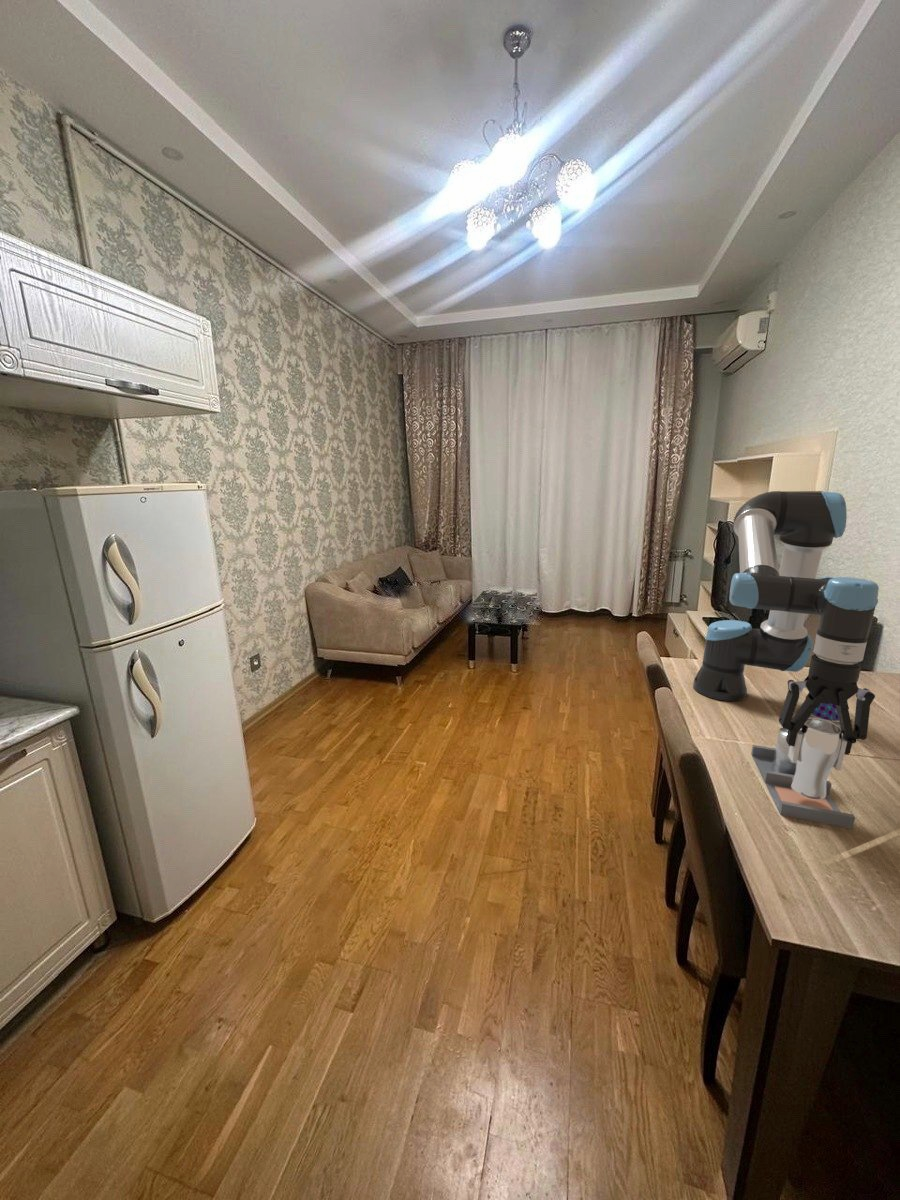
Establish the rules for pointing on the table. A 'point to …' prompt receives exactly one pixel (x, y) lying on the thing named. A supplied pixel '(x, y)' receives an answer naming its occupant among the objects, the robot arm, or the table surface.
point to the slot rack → (797, 794)
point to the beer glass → (816, 757)
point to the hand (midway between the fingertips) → (813, 762)
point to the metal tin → (783, 755)
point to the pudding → (826, 712)
